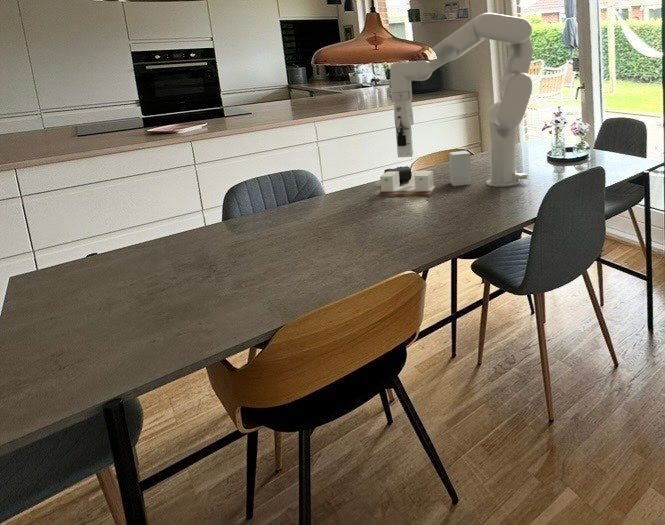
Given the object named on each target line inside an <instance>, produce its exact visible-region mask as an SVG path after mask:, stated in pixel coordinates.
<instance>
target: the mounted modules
mask: <svg viewBox="0 0 665 525" xmlns="http://www.w3.org/2000/svg"><path fill="white" fill-rule="evenodd" d="M379 180H380V190H381V191H394V190H395V189H397V188H398V187H399V186H400V185H401V183H400V181H399V171H389V172H386V173H382V175H380V177H379ZM414 182H415V183H414V186H415V191H429V190H430V189H431V188H432V187H433V186H435V184H434V170H419V172H417V173H416V174H415V175H414Z"/></svg>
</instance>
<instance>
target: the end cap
mask: <svg viewBox="0 0 665 525" xmlns="http://www.w3.org/2000/svg"><path fill="white" fill-rule="evenodd" d="M389 171H399V181H400V184H403V183H408V182H410V181H411V179H412V177H413V176H412V172H413V171H412V170H411V167H410V166H408V165H407V166H397V167H396V168H386V169H384V171H383V172H384V173H386V172H389ZM384 173H383V174H384Z"/></svg>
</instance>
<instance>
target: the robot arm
mask: <svg viewBox="0 0 665 525" xmlns="http://www.w3.org/2000/svg"><path fill="white" fill-rule="evenodd" d="M532 32H533V27H532V24H531V22H530V21H529V20H528V19H526V18H525V17H520V16H519V17H518V16H512V15H506V14H500V13H494V12H484V13H481V14H478V15H477V16H475V17H474V18H472V19H470V21H467V23H465V24H463V25H462V26H461V27H459V28H458V29H457V30H455V31H453V32H452V33H451V34H450V35H448V36H447V37H445V38H444V39H443V40H441V41H440V42H438V43H437V44H435V45H434V46H433V47H431V48H430V49H432V50H433V51H434V52H435V53H436V56H437V59H435V60H429V61H418V62H413V61H410V62H409V61H402V62H403V63H396V62H392V63H393V64H392V63H391V64H390V66H389V70H390V73H389V74H390V86H391V88H390V89H391V101H392V102H393V104H394V105H393V106H394V107H393V110H394V111H393V114H394V126H395V130H396V129H397V140H396V142H397V141H398V146H406V135H405V127H406V128H408V127H409V119H410V125H411V127H412V126H413V125H414V114H413V105H412V104H413V103H412V100H413V88H412V82H413V81H416V82H417V81H419V82H422V81H427V80H428V79H430V77H431V76H432V74H433V72H434V71H436V70H437V69H438V68H440V67H442V66H443V65H446V64H447V63H449V62H453V61H455V60H457V59H459V58H460V57H462V56H464V55H465V54H466V53H468V52H469V51H471V50H472V49H473V48H475V47H476V46H479V45H480V44H481V43H482V42H483V41H485V40H492V41H497V42H504V43H505V45H506V46H507V50H508V53H507V54H508V56H507V60H506V63H505V67H504V70H503V73H502V77H501V79H500V82H499V91H500V93H501V94H502V98H501V100H499V101H497V102H495V103H494V104H493V105H492V106H490V109H489V112H488V126H489V145H490V146H489V152H490V154H489V158H490V159H489V160H490V163H489V165H490V169H489V170H490V176H489V179H487V180H486V185H487V186H489V187H495V188H497V187H498V188H503V187H504V188H505V187H506V188H507V187H513V186H516V185H519V184H520V181H521V180H528V175H529V174H528V173H519V172H518V170H516V169H517V168H516V167H517V166H516V161H517V160H516V159H517V158H516V156H517V154H516V152H517V151H516V150H517V148H516V146H517V133H516V128H517V127H519V126H520V124H521V123H522V121H523V119H524V116H525V113H526V110H527V107H528V106H529V100H530V98H531V95H532V91H533V81H532V78H531V77H530V75H529V72H530V67H531V64H532V63H531V62H532V59H533V52H534V49H533V42H532V39H531V37H532ZM396 124H397V125H396ZM400 126H403V127H400ZM402 129H403V131H402Z"/></svg>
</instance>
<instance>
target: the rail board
mask: <svg viewBox="0 0 665 525" xmlns="http://www.w3.org/2000/svg"><path fill="white" fill-rule="evenodd" d="M437 190H438V186H437V185H434V186H433V187H432V188H431V189H430V190H429V191H415V185H414V186H412V185H407V186H406V185H405V186H402V185H401V186H399V187H398V188H397V189H395V190H394V191H381V189H380V190H379V192H378V193H377V197H378V198H381V197H382V198H383V197H385V198H388V197H390V198H395V197H396V198H397V197H398V198H403V197H404V198H406V197H407V198H409V197H411V198H413V197H420V198H421V197H423V198H424V197H426V198H427V197H428V198H429V197H431V196H432V195H433V194H434V193H435V192H436V191H437Z"/></svg>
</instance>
